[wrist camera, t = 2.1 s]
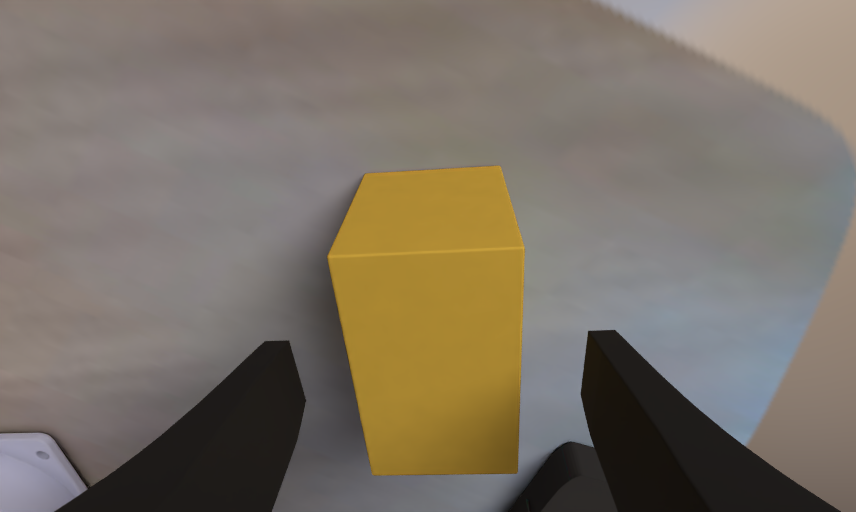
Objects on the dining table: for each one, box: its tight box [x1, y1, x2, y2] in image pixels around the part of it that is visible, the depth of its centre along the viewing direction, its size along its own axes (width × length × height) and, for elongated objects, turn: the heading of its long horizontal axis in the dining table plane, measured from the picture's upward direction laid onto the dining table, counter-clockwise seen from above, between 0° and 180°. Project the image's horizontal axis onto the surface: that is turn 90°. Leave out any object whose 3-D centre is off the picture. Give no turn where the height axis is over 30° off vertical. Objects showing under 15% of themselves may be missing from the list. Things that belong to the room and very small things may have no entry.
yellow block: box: [327, 166, 525, 475], centre depth 13 cm, size 7×4×5 cm, turn 4°
